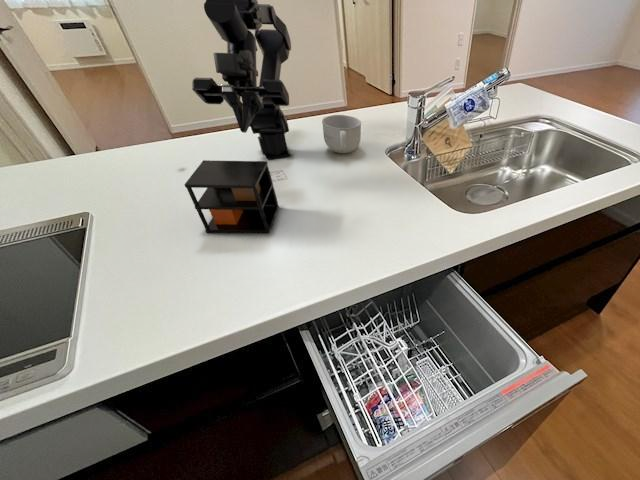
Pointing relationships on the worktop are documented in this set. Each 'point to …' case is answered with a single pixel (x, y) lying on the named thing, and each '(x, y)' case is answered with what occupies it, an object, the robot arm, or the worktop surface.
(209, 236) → the worktop surface
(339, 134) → the teacup
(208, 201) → the snack rack
